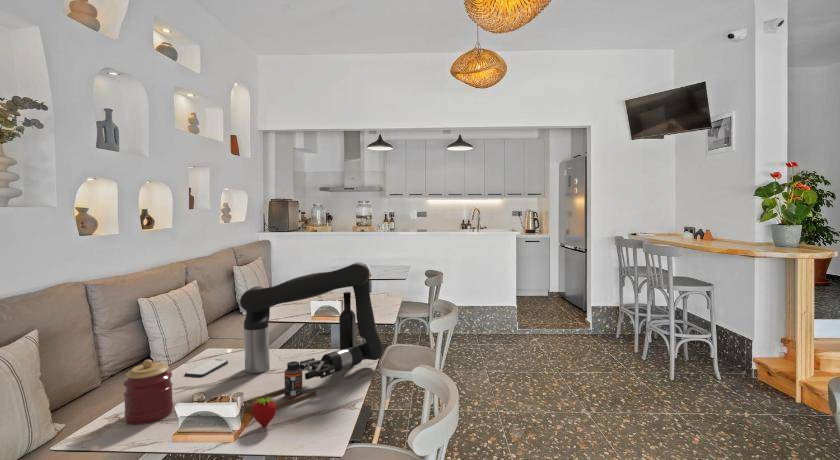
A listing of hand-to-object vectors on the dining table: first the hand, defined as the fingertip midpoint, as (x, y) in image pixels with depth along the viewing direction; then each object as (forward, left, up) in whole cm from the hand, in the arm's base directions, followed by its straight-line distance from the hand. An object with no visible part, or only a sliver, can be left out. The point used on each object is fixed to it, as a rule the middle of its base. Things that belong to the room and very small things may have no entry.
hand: (298, 373), depth 148 cm
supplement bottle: (0, -2, -7) cm, 8 cm away
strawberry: (+13, -19, -7) cm, 25 cm away
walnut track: (0, -7, -7) cm, 10 cm away
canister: (-21, -40, -7) cm, 46 cm away
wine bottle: (-10, +29, -7) cm, 31 cm away
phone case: (-49, -13, -8) cm, 51 cm away
